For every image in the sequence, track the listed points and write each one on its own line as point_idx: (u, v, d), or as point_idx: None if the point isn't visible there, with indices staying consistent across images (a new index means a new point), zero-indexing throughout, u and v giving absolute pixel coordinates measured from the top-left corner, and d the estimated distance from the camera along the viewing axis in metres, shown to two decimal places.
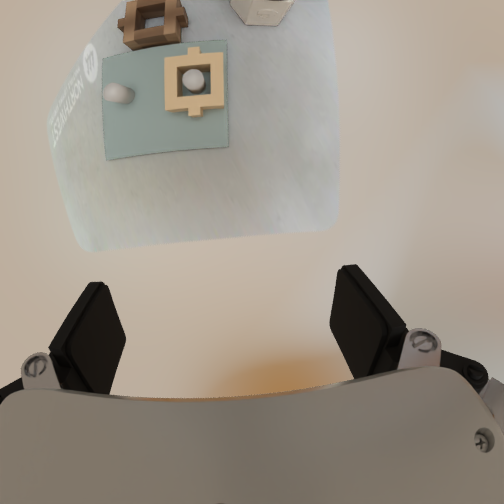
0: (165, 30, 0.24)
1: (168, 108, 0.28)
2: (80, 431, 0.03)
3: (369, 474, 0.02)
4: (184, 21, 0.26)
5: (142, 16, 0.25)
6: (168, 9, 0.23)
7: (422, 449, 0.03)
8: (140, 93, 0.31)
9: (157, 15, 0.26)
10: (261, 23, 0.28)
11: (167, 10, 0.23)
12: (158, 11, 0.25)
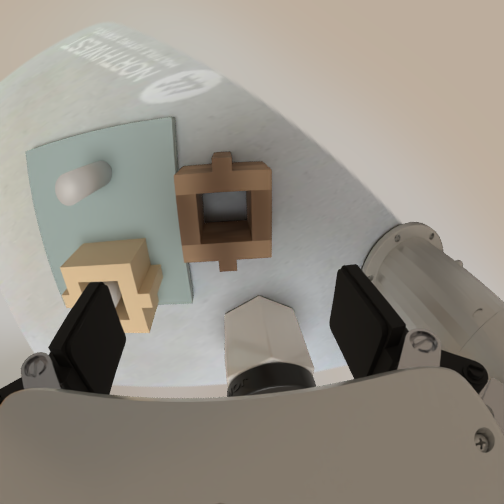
0: (189, 248, 0.21)
1: (62, 271, 0.19)
2: (80, 431, 0.03)
3: (369, 474, 0.02)
4: None
5: None
6: (234, 248, 0.21)
7: (422, 449, 0.03)
8: (103, 195, 0.22)
9: None
10: None
11: (232, 246, 0.21)
12: (248, 211, 0.23)
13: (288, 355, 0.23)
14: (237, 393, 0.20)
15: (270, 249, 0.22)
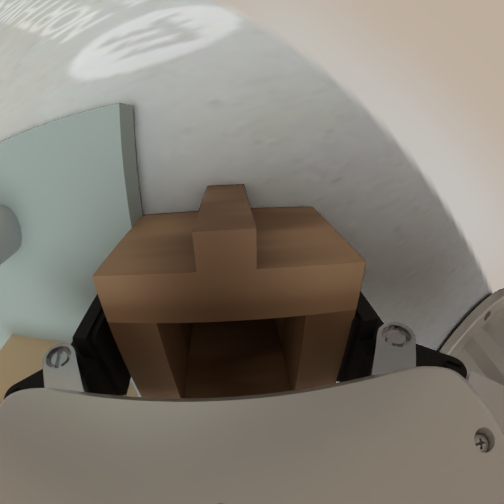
0: None
1: None
2: (80, 431, 0.03)
3: (369, 474, 0.02)
4: None
5: None
6: None
7: (422, 449, 0.03)
8: (17, 268, 0.09)
9: None
10: None
11: None
12: (282, 320, 0.11)
13: None
14: None
15: None
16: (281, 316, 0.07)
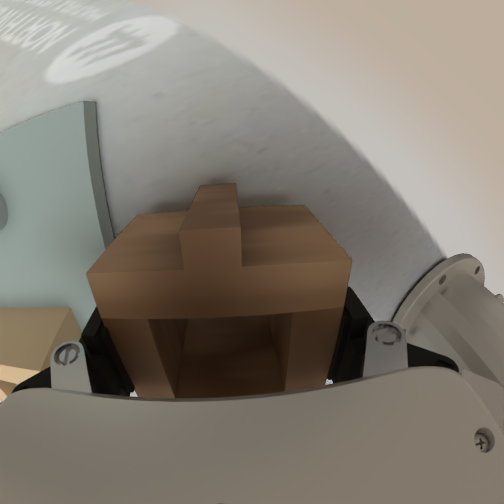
0: None
1: None
2: (80, 431, 0.03)
3: (369, 474, 0.02)
4: None
5: None
6: None
7: (422, 449, 0.03)
8: (3, 243, 0.10)
9: None
10: None
11: None
12: (274, 317, 0.11)
13: None
14: None
15: None
16: (268, 313, 0.07)
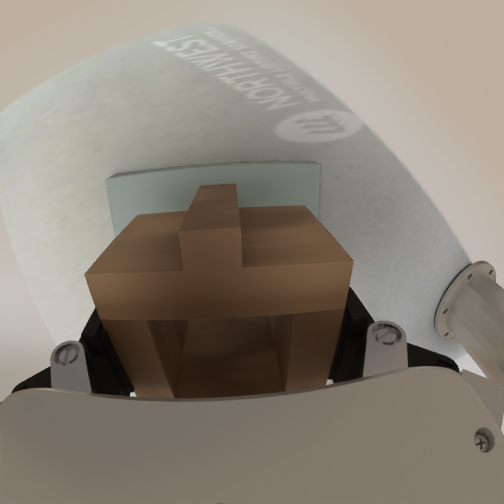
0: None
1: None
2: (80, 431, 0.03)
3: (369, 474, 0.02)
4: None
5: None
6: None
7: (422, 449, 0.03)
8: None
9: None
10: None
11: None
12: (275, 318, 0.11)
13: None
14: None
15: None
16: (268, 314, 0.07)
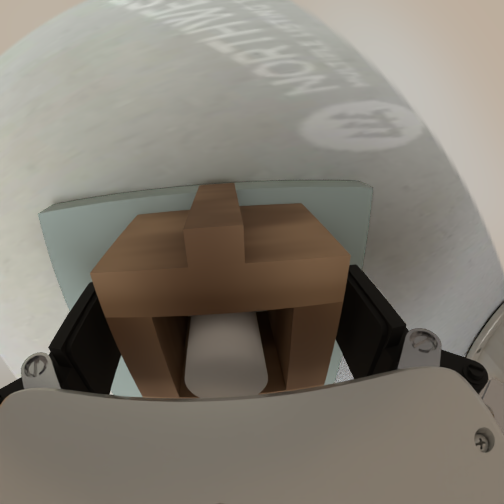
0: None
1: None
2: (80, 431, 0.03)
3: (369, 474, 0.02)
4: None
5: None
6: None
7: (422, 449, 0.03)
8: None
9: None
10: None
11: None
12: (274, 314, 0.11)
13: None
14: None
15: None
16: (270, 308, 0.07)
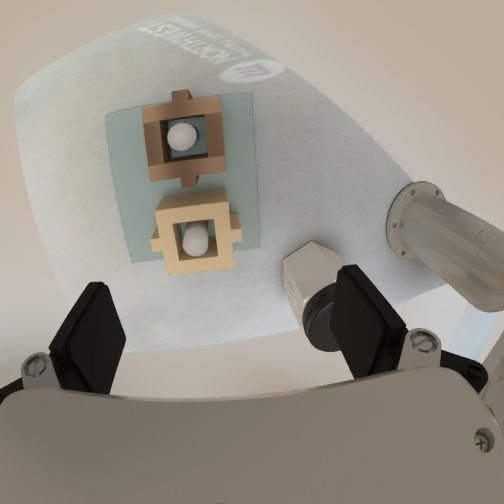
0: (154, 167, 0.23)
1: (157, 214, 0.25)
2: (80, 431, 0.03)
3: (369, 474, 0.02)
4: None
5: None
6: (192, 164, 0.23)
7: (422, 449, 0.03)
8: (189, 153, 0.27)
9: None
10: (284, 276, 0.36)
11: (191, 163, 0.23)
12: None
13: None
14: (317, 307, 0.26)
15: (224, 164, 0.24)
16: (196, 114, 0.21)
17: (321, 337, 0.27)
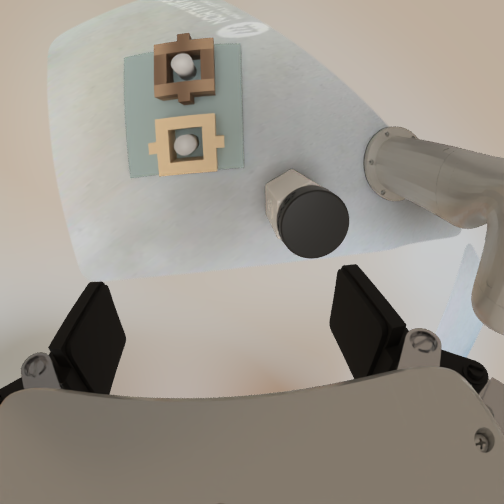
0: (158, 86, 0.26)
1: (156, 122, 0.28)
2: (80, 431, 0.03)
3: (369, 474, 0.02)
4: (181, 102, 0.29)
5: None
6: (188, 84, 0.26)
7: (422, 449, 0.03)
8: None
9: None
10: (266, 200, 0.39)
11: (187, 83, 0.26)
12: None
13: None
14: (288, 202, 0.29)
15: (213, 84, 0.27)
16: (194, 49, 0.24)
17: (293, 235, 0.30)
